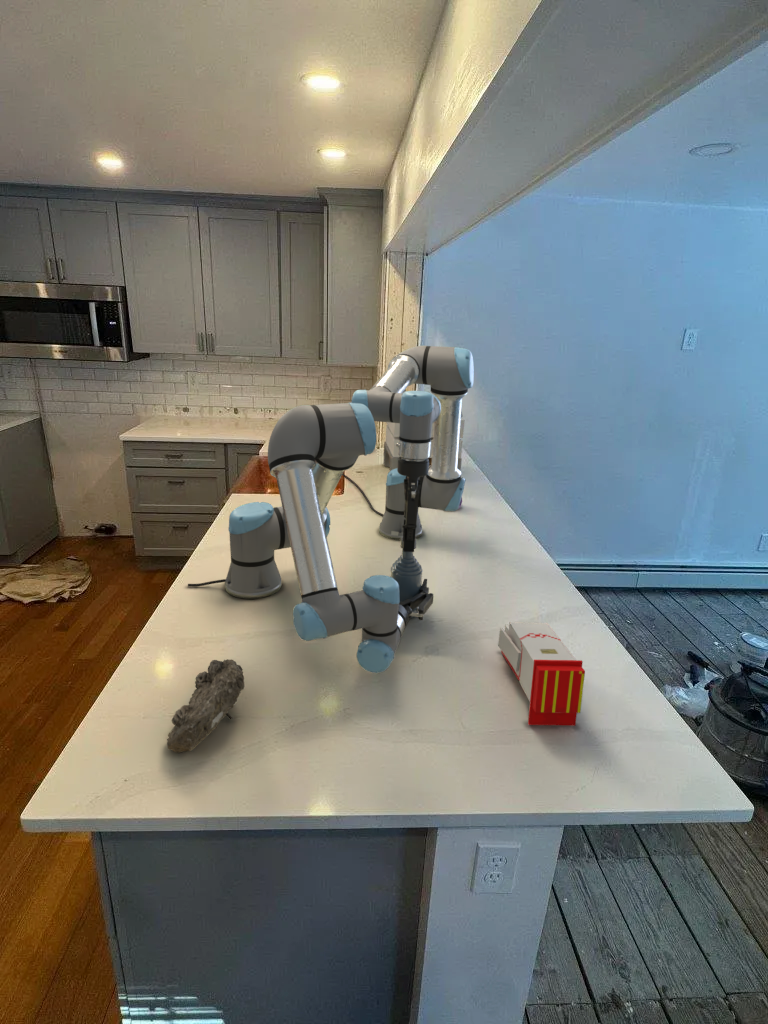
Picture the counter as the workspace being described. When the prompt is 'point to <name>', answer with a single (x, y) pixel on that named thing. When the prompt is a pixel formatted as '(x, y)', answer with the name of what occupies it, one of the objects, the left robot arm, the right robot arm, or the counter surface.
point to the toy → (544, 672)
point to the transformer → (393, 439)
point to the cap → (403, 543)
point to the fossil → (206, 705)
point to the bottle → (407, 576)
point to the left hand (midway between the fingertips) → (409, 581)
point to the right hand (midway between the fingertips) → (408, 547)
